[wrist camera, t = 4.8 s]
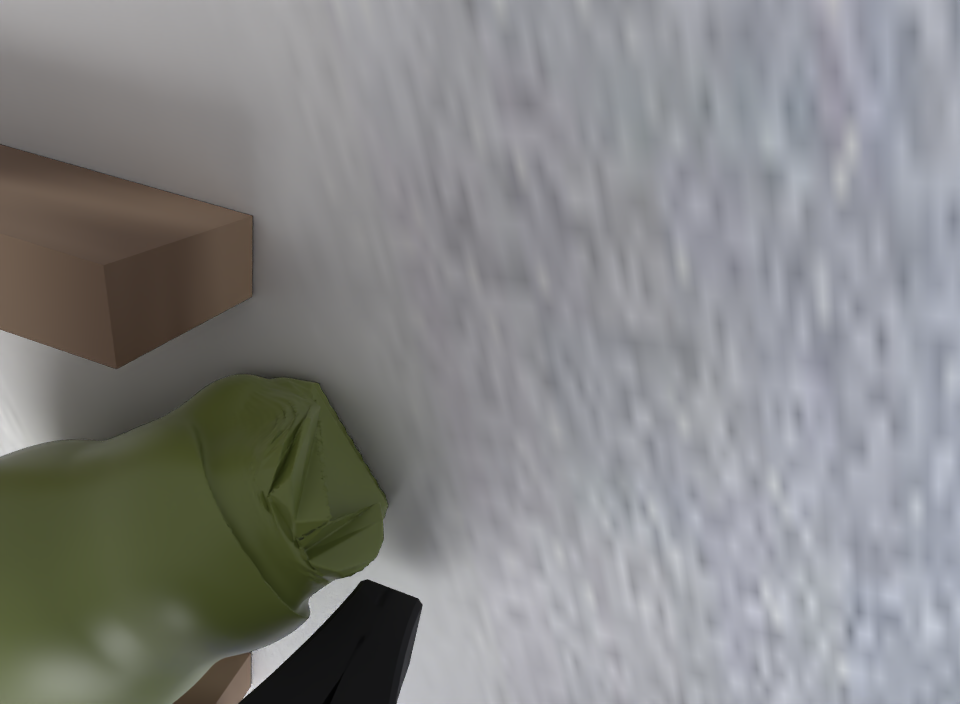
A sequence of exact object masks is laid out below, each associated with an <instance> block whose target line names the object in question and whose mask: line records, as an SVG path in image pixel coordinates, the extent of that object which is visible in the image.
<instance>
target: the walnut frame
mask: <svg viewBox="0 0 960 704" xmlns="http://www.w3.org/2000/svg"><path fill="white" fill-rule="evenodd" d="M251 297H252V216H251V215H247V214H244V213H240V212H237V211H233V210H230V209H226V208H223V207H219V206H215V205H212V204H208V203H205V202H201V201H198V200H194V199H191V198H187V197H184V196H180V195H177V194H173V193H170V192H166V191H163V190H159V189H156V188H152V187H148V186H145V185H141V184H138V183H134V182H131V181H127V180H124V179H120V178H117V177H113V176H110V175H106V174H103V173H99V172H96V171H92V170H89V169H85V168H81V167H78V166H74V165H71V164H67V163H64V162H60V161H57V160H53V159H50V158H46V157H43V156H39V155H36V154H32V153H29V152H25V151H22V150H18V149H14V148H11V147H7V146H4V145H0V330H3V331H6V332H9V333H12V334H15V335H18V336H21V337H24V338H27V339H30V340H33V341H36V342H39V343H41V344H44V345H47V346H50V347H53V348H56V349H59V350H62V351H65V352H68V353H71V354H74V355H77V356H80V357H82V358H85V359H88V360H91V361H94V362H97V363H100V364H103V365H106V366H109V367H112V368H115V369H118V368H120V367H122V366H123V365H125V364H127V363H129V362H131V361H133V360H135V359H137V358H138V357H140V356H142V355H144V354H146V353H148V352H150V351H151V350H153V349H155V348H157V347H159V346H161V345H163V344H165V343H166V342H168V341H170V340H172V339H174V338H176V337H178V336H180V335H181V334H183V333H185V332H187V331H189V330H191V329H193V328H194V327H196V326H198V325H200V324H202V323H204V322H206V321H208V320H209V319H211V318H213V317H215V316H217V315H219V314H221V313H223V312H224V311H226V310H228V309H230V308H232V307H234V306H236V305H238V304H239V303H241V302H243V301H245V300H247V299H249V298H251ZM250 687H251V653H249V652H247V653H243V654H239V655H235V656H230V657H226V658H223V659H221V660H219V661H217V662H216V663H215V664H214V665H213V666H212V667H211V668H210V669H209V670H208V671H207V672H206V673H205V674H204V675H203V676H202V678H201V679H200V680H199V681H198V682H197V683H196V684H195V685H194V686H193V687H191V688H190V689H189V690H188V691H187V692H186V693H185V694H184V695H182V696H181V697H180V698H179V699H178V700H176V701H175V702H174V703H172V704H238V703H239V702H240V701H241V700H242V699H243V697H244V696H245V694H246V693H247V691H248V690H249V688H250Z"/></svg>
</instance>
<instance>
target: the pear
mask: <svg viewBox="0 0 960 704" xmlns="http://www.w3.org/2000/svg"><path fill="white" fill-rule="evenodd" d="M387 508H388V503H387V500H386V496H385V494H384V493H383V491H381V489H380V488H379V486H378V483H377V481H376V479H375V478H374V477H373V476H372V475H371V473H370V469H369V467H368V466H367V465H366V464H365V463H364V461H363V459H362V456H361V454H360V453H359V452H358V450H357V449H356V448H355V445H354V443H353V440H352V439H351V438H350V437H349V436H348V435H347V432H346V429H345V427H344V426H343V424H342V423H341V422H340V421H339V419H338V416H337V413H336V412H335V411H334V410H333V408H332V407H331V406H330V404H329V401H328V399H327V397H326V396H325V394H324V393H323V391H322V390H321V388H320V385H319V383H316V382H310V381H305V380H299V379H293V378H287V377H280V378H273V379H267V378H263V377H260V376H256V375H250V374H236V375H231V376H227V377H224V378H221V379H219V380H217V381H215V382H213V383H211V384H209V385H208V386H206V387H205V388H203V389H202V390H201V391H199V392H198V393H197V394H196V395H194V396H193V397H192V398H191V399H189V400H188V401H187V402H186V403H184V404H183V405H182V406H180V407H179V408H177V409H175V410H174V411H172V412H170V413H168V414H167V415H165V416H163V417H161V418H159V419H156V420H154V421H152V422H149V423H147V424H144V425H142V426H139V427H137V428H135V429H132V430H130V431H128V432H126V433H124V434H121V435H119V436H116V437H114V438H111V439H108V440H104V441H98V440H84V439H71V440H59V441H52V442H47V443H42V444H38V445H34V446H30V447H27V448H24V449H21V450H18V451H15V452H12V453H9V454H7V455H4V456H1V457H0V704H172V703H174V702H175V701H176V700H178V699H179V698H180V697H181V696H182V695H184V694H185V693H186V692H187V691H188V690H189V689H190V688H191V687H193V686H194V685H195V684H196V683H197V682H198V681H199V680H200V679H201V678H202V676H203V675H204V674H205V673H206V672H207V671H208V670H209V669H210V668H211V667H212V666H213V665H214V664H215V663H216V662H217V661H219V660H221V659H223V658H226V657H230V656H235V655H239V654H243V653H247V652H250V651H254V650H257V649H260V648H262V647H265V646H267V645H270V644H272V643H274V642H276V641H278V640H280V639H282V638H284V637H285V636H287V635H289V634H290V633H292V632H293V631H294V630H296V629H297V628H298V627H300V626H301V625H302V624H303V623H304V622H305V621H306V620H307V619H308V618H309V616H310V609H309V606H308V600H309V598H310V597H311V596H312V595H313V594H314V593H316V592H317V591H318V590H320V589H321V588H323V587H324V586H326V585H328V584H329V583H331V582H332V581H334V580H335V579H339V578H344V577H348V576H352V575H353V574H355V573H356V572H359V571H362V570H363V569H364V568H365V567H366V566H368V565H369V563H370V562H372V561H374V559H375V558H376V557H377V555H378V553H379V550H380V548H381V546H382V542H383V539H384V534H383V519H384V518H385V514H386V511H387Z"/></svg>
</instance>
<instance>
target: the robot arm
mask: <svg viewBox="0 0 960 704" xmlns="http://www.w3.org/2000/svg"><path fill="white" fill-rule="evenodd" d="M421 610H422V603H421V602H420V601H419V599H418V598H415V597H413V596H410V595H407V594H405V593H402V592H399V591H397V590H394V589H391V588H389V587H386V586H384V585H381V584H378V583H376V582H373V581H370V580H368V579H367V580H364V581H361V582H360V583H359V584H358V586H357V587H356V588H355V589H354V591H353V592H352V593H351V594H350V595H349V596H348V598H347V599H346V600H345V601H344V602H343V603H342V604H341V605H340V606H339V608H338V609H337V610H336V611H335V612H334V613H333V614H332V615H331V616H330V617H329V618H328V619H327V620H326V621H325V623H324V624H323V625H322V626H321V627H320V628H319V629H318V630H317V631H316V632H315V633H314V634H313V635H312V636H311V637H310V638H309V639H308V640H307V641H306V642H305V643H304V644H303V645H302V646H301V647H299V648H298V649H297V650H296V651H295V652H294V653H293V654H292V655H291V656H290V657H289V658H288V659H287V660H286V661H285V662H284V663H283V664H282V665H281V666H280V667H279V668H278V669H276V670H275V671H274V672H273V673H272V674H271V675H270V676H269V677H268V678H267V679H266V680H264V681H263V682H262V683H261V684H260V685H259V686H258V687H256V688H255V689H254V690H253V691H252V692H251V693H250V694H248V695H247V696H246V697H245V698H244V699H243V700H241V701H240V702H239V703H238V704H396V703H397V700H398V696H399V693H400V690H401V686H402V683H403V681H404V678H405V675H406V672H407V669H408V666H409V663H410V659H411V654H412V650H413V645H414V641H415V637H416V632H417V628H418V623H419V619H420V614H421Z"/></svg>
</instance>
